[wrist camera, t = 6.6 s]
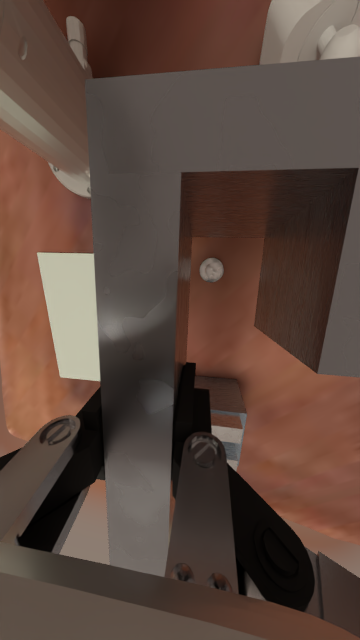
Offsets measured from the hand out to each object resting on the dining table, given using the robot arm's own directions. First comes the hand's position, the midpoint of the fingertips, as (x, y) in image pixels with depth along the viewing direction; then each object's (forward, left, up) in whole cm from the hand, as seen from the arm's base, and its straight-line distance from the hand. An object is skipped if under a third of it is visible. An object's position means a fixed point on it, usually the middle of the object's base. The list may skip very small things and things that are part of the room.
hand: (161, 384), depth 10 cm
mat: (+4, -19, -21) cm, 28 cm away
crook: (0, +3, -2) cm, 4 cm away
